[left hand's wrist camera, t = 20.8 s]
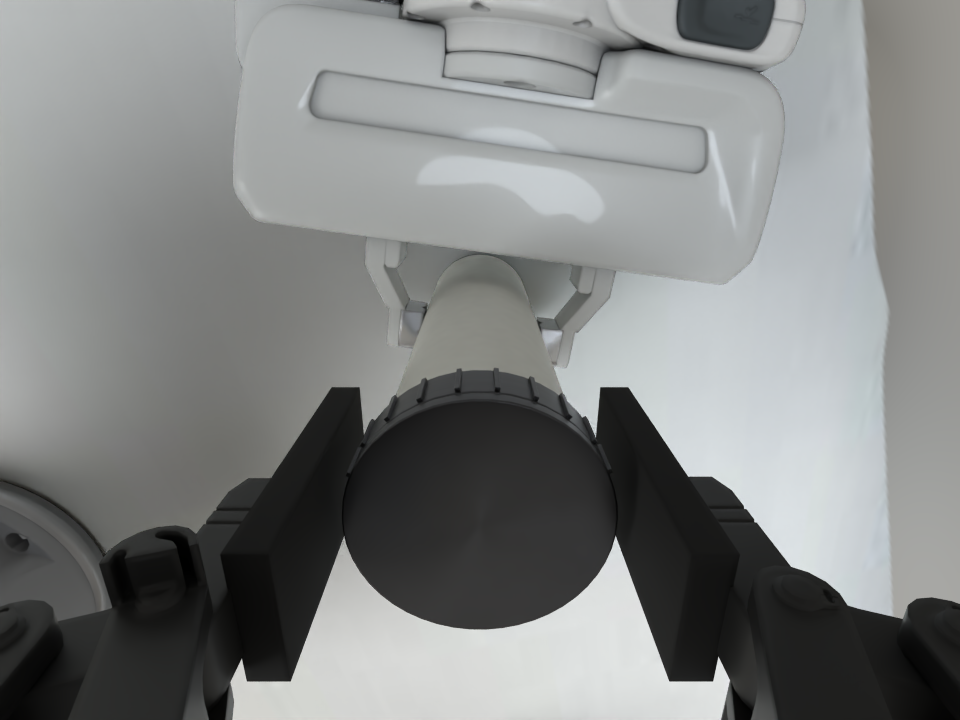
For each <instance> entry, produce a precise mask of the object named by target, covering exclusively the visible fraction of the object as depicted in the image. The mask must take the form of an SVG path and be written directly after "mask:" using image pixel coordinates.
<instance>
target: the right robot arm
mask: <svg viewBox="0 0 960 720" xmlns="http://www.w3.org/2000/svg"><path fill="white" fill-rule="evenodd" d="M402 4H403V11H402V9H401V7H402ZM805 12H806V4H805V0H235V38H236V51H237V55H238V59H239V62H240V65H241V67H242V70H243V72H242V77H241V84H240V91H239V99H238V106H237V115H236V125H235V138H234V157H233V187H234V191H235V194H236V196H237V197H238V199H239V200H240V201H241V203H242V204H243V206H244V207H245V209H246V210H247V211H248V213H249V214H250V215H251V217H252V218H253V219H254V220H256V221H259V222H264V223H271V224H278V225H285V226H293V227H300V228H307V229H315V230H322V231H329V232H337V233H344V234H351V235H359V236H366V251H365V266H366V268H367V270H368V272H369V274H370V276H371V278H372V280H373V282H374V284H375V286H376V288H377V290H378V292H379V294H380V296H381V298H382V300H383V302H384V304H385V306H386V307H387V308H389V317H388V330H387V345H389V346H395V347H406V348H414V345H415V342H416V340H417V337H418V334H419V331H420V329H421V326H422V323H423V320H424V318H425V315H426V312H427V303H425V302H419V301H413V300H410V298H409V296H408V294H407V292H406V289H405V287H404V285H403V283H402V280H401V278H400V276H399V273H398V271H397V269H396V268H397V267H398V266H399V265H400V264H401V263H402V262H403V260H404V259H405V258H406V251H407V242H410V243H417V244H424V245H432V246H439V247H446V248H454V249H461V250H468V251H475V252H483V253H490V254H497V255H505V256H512V257H519V258H527V259H534V260H541V261H548V262H556V263H563V264H570V265H572V269H571V274H570V281H571V283H572V284H573V285H574V286H575V288H576V289H577V291H576V292H575V294H574V295H573V296H572V297H571V299H570V300H569V301H568V302H567V304H566V305H565V306H564V307H563V308H562V310H561V311H560V312H559V313H558V315H557V316H556V317H555V319H549V318H539V317H537V320H536V321H537V324H538V327H539V329H540V332H541V335H542V338H543V340H544V343H545V346H546V348H547V351H548V354H549V357H550V359H551V362H552V365H553V367H560V368H566V367H567V365H568V363H569V358H570V354H571V349H572V344H573V339H574V334H575V332H579V331H580V330H581V329H582V327H583V326H584V325H585V324H586V323H587V322H588V321H589V320H590V319H591V318H592V317H593V315H594V314H595V313H596V312H597V311H598V310H599V309H600V308H601V307H602V306H603V305H604V304H605V302H606V301H607V300H608V299H609V298H610V294H611V290H612V286H613V281H614V277H615V273H616V271H622V272H629V273H636V274H643V275H651V276H658V277H665V278H673V279H680V280H687V281H695V282H702V283H709V284H717V285H722V284H725V283H727V282H729V281H730V280H731V279H733V278H734V277H735V276H736V275H737V274H739V273H740V272H741V271H742V270H743V269H744V268H745V267H747V266H748V265H749V264H750V262H751V261H752V259H753V257H754V255H755V253H756V251H757V248H758V245H759V242H760V239H761V236H762V232H763V229H764V226H765V222H766V218H767V215H768V211H769V207H770V203H771V200H772V196H773V191H774V187H775V182H776V178H777V173H778V168H779V163H780V158H781V152H782V147H783V141H784V131H785V116H784V108H783V103H782V100H781V97H780V95H779V93H778V91H777V89H776V88H775V86H774V85H773V84H772V82H771V81H770V80H769V79H767V78H766V77H765V76H763V75H762V74H760V72H763V71H765V70H767V69H769V68H771V67H773V66H775V65H777V64H779V63H781V62H783V61H784V60H785V59H787V58H788V57H789V55H790V54H791V53H792V51H793V50H794V48H795V46H796V43H797V41H798V38H799V36H800V33H801V30H802V25H803V23H804V19H805ZM402 18H403V19H402Z"/></svg>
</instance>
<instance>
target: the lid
mask: <svg viewBox="0 0 960 720" xmlns="http://www.w3.org/2000/svg"><path fill="white" fill-rule="evenodd" d="M597 443H598V442H597V440H596V437H595V435H594V433H593V430H592V428H591V425H590V423H589V421H588V419H587V417H586V416H585V417H583V418H582V417H581V416H580V414H579V413H578V412H577V411H576V410H575V409H574V408H573V407H572V406H571V405H570V404H569V403H568V402H567V400H566V397H565V395H564V394H563V393H561V394H560V395H558V394H557V393H555V392H554V391H552V390H550V389H549V388H547V387H545V386H543V385H542V384H540V383H537V382H535V379H534V377H531V376H530V377H529V379H528V378H525V377H522V376H518V375H514V374H511V373H506V372H499V368H494V370H493V371H491V370H470V371H462V369H461V368H459V369H457V370H456V372H454V373H449V374H445V375H441V376H438V377H435V378H432V379H430V380H427V379H426V378H423V379H421V383H420V384H418V385H416V386H414V387H412V388H411V389H409V390H407V391H406V392H404V393H403V394H402V395H400V396H399V397H397V396H396V395H394V396H393V397H392V398H391V401H390V404H389V405H388V406H387V407H386V408H385V409H384V410H383V411H382V413H381V414H380V415H379V416H378V418H377V419H376V420H373V419H372V420H371V421H370V423H369V425H368V427H367V430H366V432H365V434H364V437H363V439H362V441H361V444H360V447H361V448H359V447H358V448H357V450H356V453H355V455H354V457H353V459H352V462H351V464H350V466H349V469H348V471H347V474H346V477H349V478H348V481H347V483H346V486H345V491H344V495H343V500H342V514H341V515H342V526H343V533H344V537H345V541H346V545H347V547H348V550H349V552H350V554H351V557H352V559H353V561H354V563H355V564H356V566H357V568H358V569H359V571H360V572H361V574H362V575H363V576H364V577H365V579H366V580H367V581H368V583H369V584H370V585H371V586H372V587H373V588H374V589H375V590H376V591H377V592H378V593H380V594H381V595H382V596H383V597H384V598H386V599H387V600H388V601H390V602H391V603H392V604H394V605H395V606H397V607H399V608H401V609H402V610H404V611H406V612H407V613H410V614H412V615H414V616H416V617H419V618H421V619H424V620H427V621H430V622H433V623H436V624H440V625H444V626H449V627H454V628H463V629H496V628H505V627H510V626H515V625H520V624H523V623H527V622H530V621H533V620H536V619H538V618H541V617H543V616H546V615H548V614H550V613H552V612H554V611H555V610H557V609H559V608H561V607H563V606H564V605H566V604H567V603H568V602H570V601H571V600H573V599H574V598H575V597H577V596H578V595H579V594H580V593H581V592H582V591H583V590H584V589H585V588H586V587H587V586H588V585H589V584H590V583H591V582H592V581H593V579H594V578H595V577H596V576H597V575H598V573H599V572H600V570H601V568H602V567H603V565H604V564H605V562H606V560H607V558H608V556H609V553H610V551H611V549H612V546H613V542H614V539H615V535H616V530H617V522H618V503H617V498H616V493H615V488H614V485H613V482H612V479H611V477H610V474H611V473H613V472H612V469H611V467H610V464H609V462H608V460H607V457H606V455H605V453H604V450H603V448H602V446H601V444H598V445H597Z"/></svg>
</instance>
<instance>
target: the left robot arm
mask: <svg viewBox="0 0 960 720" xmlns="http://www.w3.org/2000/svg"><path fill="white" fill-rule="evenodd" d="M363 437H364V433H363V421H362V410H361V398H360V387H332V388H331V389H330V391H329V392H328V394H327V395H326V397H325V398H324V400H323V401H322V403H321V404H320V406H319V407H318V409H317V410H316V412H315V413H314V415H313V416H312V418H311V419H310V421H309V422H308V424H307V425H306V427H305V428H304V430H303V431H302V433H301V434H300V436H299V437H298V439H297V440H296V442H295V443H294V445H293V446H292V448H291V449H290V451H289V452H288V454H287V455H286V457H285V458H284V460H283V461H282V462H281V464H280V465H279V467H278V468H277V470H276V471H275V473H274V474H273V476H272V477H271V478H248V479H247V480H245V481H244V482H243V483H241V484H240V485H238V486H237V487H235V488H234V489H232V490H231V491H229V492H228V494H227V495H226V496H225V497H224V499H223V500H222V501H221V503H220V504H219V505H218V507H217V510H216V511H214V512H213V513H212V514H211V516H210V517H209V518H208V520H207V521H206V524H204V525H203V526H202V527H201V529H200V530H199V531H198V532H197V534H195V533H194V532H193V531H192V530H190V529H189V528H185V527H180V526H165V527H157V528H153V529H150V530H146V531H143V532H140V533H138V534H136V535H133V536H131V537H129V538H127V539H125V540H123V541H121V542H120V543H119V544H117V545H116V546H115V547H113V548H112V549H111V550H109V551H108V552H107V553H106V555H105V556H104V557H103V555H102V553H101V551H100V550H99V548H98V547H97V545H96V544H95V543H94V541H93V540H92V539H91V537H90V536H89V535H88V534H87V533H86V531H85V530H84V529H83V528H82V527H81V526H80V525H79V524H78V523H77V522H75V521H74V520H73V519H72V518H71V517H70V516H68V515H67V514H66V513H64V512H63V511H62V510H60V509H59V508H58V507H56V506H55V505H53V504H51V503H50V502H48V501H47V500H45V499H43V498H41V497H39V496H38V495H36V494H34V493H31V492H29V491H27V490H25V489H22V488H20V487H17V486H14V485H12V484H9V483H5V482H2V481H0V720H232V717H233V706H234V699H233V693H232V688H231V683H230V682H231V679H232V677H233V675H234V673H235V671H236V669H237V667H238V665H239V663H240V661H241V659H242V660H243V665H244V670H245V675H246V679H247V681H291V679H292V676H293V673H294V671H295V668H296V665H297V663H298V660H299V657H300V654H301V652H302V649H303V646H304V644H305V641H306V638H307V635H308V633H309V630H310V627H311V624H312V622H313V619H314V616H315V614H316V611H317V608H318V605H319V603H320V600H321V597H322V595H323V592H324V589H325V586H326V584H327V581H328V578H329V576H330V573H331V570H332V567H333V565H334V562H335V559H336V556H337V554H338V551H339V548H340V546H341V543H342V540H343V537H344V533H343V526H342V515H341V514H342V500H343V495H344V491H345V486H346V483H347V481H348V478H349V477H346V474H347V471H348V469H349V466H350V464H351V462H352V459H353V457H354V455H355V453H356V450H357V448H358V447H359V448H361V447H360V444H361V441H362V439H363ZM596 440H597V442H598V443H597V445H598V444H601V446H602V448H603V450H604V453H605V455H606V457H607V460H608V462H609V464H610V467H611V469H612V472H613V473H611V474H610V477H611V479H612V482H613V485H614V488H615V493H616V498H617V503H618V522H617V530H616V537H617V540H618V543H619V546H620V548H621V551H622V554H623V556H624V559H625V562H626V565H627V567H628V570H629V573H630V576H631V578H632V581H633V584H634V586H635V589H636V592H637V595H638V597H639V600H640V603H641V605H642V608H643V611H644V614H645V616H646V619H647V622H648V624H649V627H650V630H651V633H652V635H653V638H654V641H655V643H656V646H657V649H658V652H659V654H660V657H661V660H662V663H663V665H664V668H665V671H666V673H667V676H668V679H669V681H713V679H714V675H715V670H716V665H717V661H718V656H719V658H720V660H721V662H722V664H723V666H724V669H725V671H726V673H727V675H728V677H729V679H730V683H729V688H728V692H727V696H726V701H725V705H724V709H723V714H722V718H721V720H960V604H958V603H955V602H952V601H948V600H942V599H937V598H920V599H916V600H914V601H913V602H912V603H910V604H909V605H908V607H907V610H906V612H905V615H904V618H903V619H900V618H896V617H891V616H887V615H883V614H878V613H874V612H870V611H865V610H861V609H857V608H854V607H851V606H847V604H846V602H845V601H844V599H843V598H842V596H841V595H840V593H838V592H837V591H836V590H835V589H834V588H832V587H831V586H830V585H829V584H828V583H827V582H825V581H823V580H821V579H820V578H818V577H816V576H814V575H812V574H810V573H808V572H805V571H802V570H799V569H796V568H793V567H791V566H790V565H789V564H788V562H787V561H786V560H785V558H784V557H783V556H782V555H781V553H780V552H779V551H778V549H777V548H776V547H775V546H774V544H773V543H772V542H771V540H770V539H769V538H768V537H767V535H766V534H765V533H764V531H763V530H762V529H761V528H760V526H759V525H758V524H757V523H755V522H754V519H753V517H752V516H751V515H750V513H749V512H748V511H747V510H746V509H744V506H743V504H742V503H741V502H740V501H739V499H738V498H737V497H736V495H735V494H734V493H733V492H732V490H730V489H729V488H727V487H726V486H725V485H723V484H722V483H720V482H719V481H717V480H716V479H714V478H713V477H688V476H687V474H686V473H685V471H684V470H683V468H682V467H681V465H680V464H679V462H678V461H677V460H676V458H675V457H674V455H673V454H672V452H671V451H670V449H669V448H668V446H667V445H666V443H665V442H664V440H663V439H662V437H661V436H660V434H659V433H658V431H657V430H656V428H655V427H654V425H653V424H652V422H651V421H650V419H649V418H648V416H647V415H646V413H645V412H644V410H643V409H642V407H641V406H640V404H639V403H638V401H637V400H636V398H635V397H634V395H633V394H632V392H631V391H630V389H629V388H628V387H600V398H599V410H598V421H597V433H596Z"/></svg>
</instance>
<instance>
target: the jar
mask: <svg viewBox="0 0 960 720" xmlns="http://www.w3.org/2000/svg"><path fill="white" fill-rule="evenodd" d="M459 368H461V369H462V371H470V370H491V371H493V370H494V368H499V372H506V373H511V374H514V375H518V376H522V377H525V378H528V379H529V377H530V376H531V377H534V379H535V382H537V383H540V384H542V385H543V386H545V387H547V388H549V389H550V390H552V391H554V392H555V393H557V394H558V395H560V394H561V393H563V392H562V390H561V387H560V384H559V381H558V379H557V376H556V373H555V370H554V368H553V365H552V362H551V359H550V357H549V354H548V351H547V348H546V346H545V343H544V340H543V338H542V335H541V332H540V329H539V327H538V324H537V321H536V318H535V316H534V313H533V310H532V307H531V305H530V302H529V299H528V296H527V294H526V291H525V288H524V285H523V283H522V280H521V279H520V277H519V275H518V274H517V272H516V271H515V270H514V269H513V268H512V267H511V266H510V265H509V264H507V263H506V262H504V261H503V260H501V259H499V258H496V257H493V256H489V255H470V256H467V257H464V258H461V259H459V260H457V261H455V262H454V263H452V264H451V265H450V266H449V267H448V268H447V269H446V270H445V271H444V272H443V274H442V275H441V276H440V278H439V280H438V282H437V285H436V288H435V290H434V293H433V296H432V299H431V301H430V304H429V307H428V310H427V312H426V315H425V318H424V320H423V323H422V326H421V329H420V331H419V334H418V337H417V340H416V342H415V345H414V348H413V350H412V353H411V356H410V359H409V361H408V364H407V367H406V370H405V372H404V375H403V378H402V381H401V383H400V386H399V389H398V391H397V394H396V396H397V397H399V396H400V395H402V394H403V393H404V392H406V391H407V390H409V389H411V388H412V387H414V386H416V385H418V384H420V383H421V379H423V378H426V379H427V380H430V379H432V378H435V377H438V376H441V375H445V374H449V373H454V372H456V370H457V369H459Z"/></svg>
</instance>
